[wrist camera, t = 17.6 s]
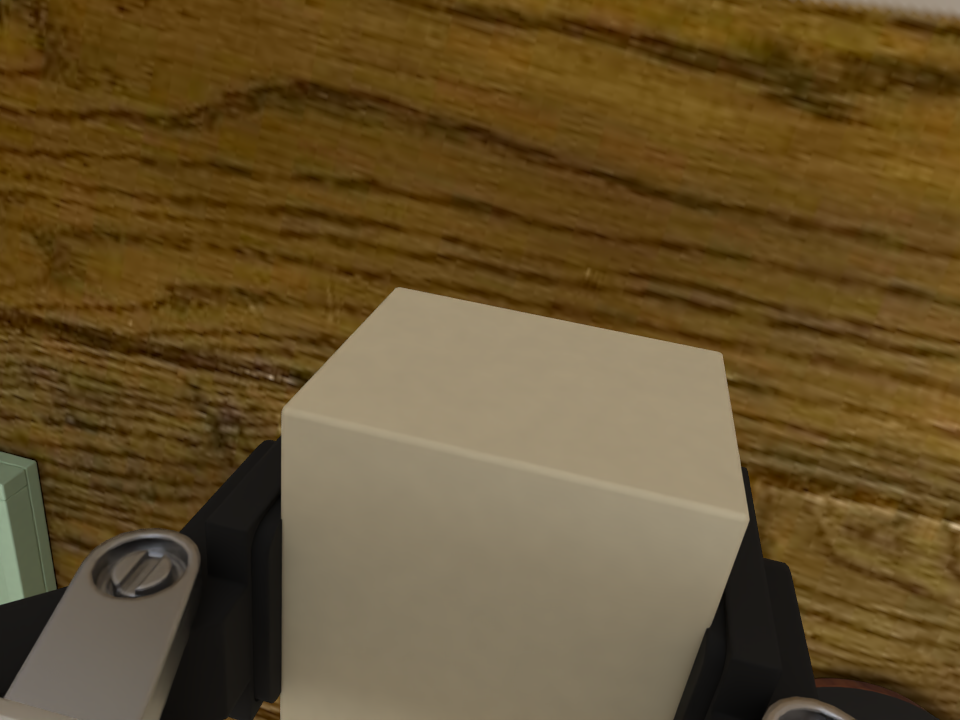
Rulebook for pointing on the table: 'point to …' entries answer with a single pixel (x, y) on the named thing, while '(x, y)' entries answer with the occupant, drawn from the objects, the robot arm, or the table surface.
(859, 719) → the mug
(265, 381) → the table surface
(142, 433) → the table surface
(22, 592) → the sage green tray
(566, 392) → the beige block
